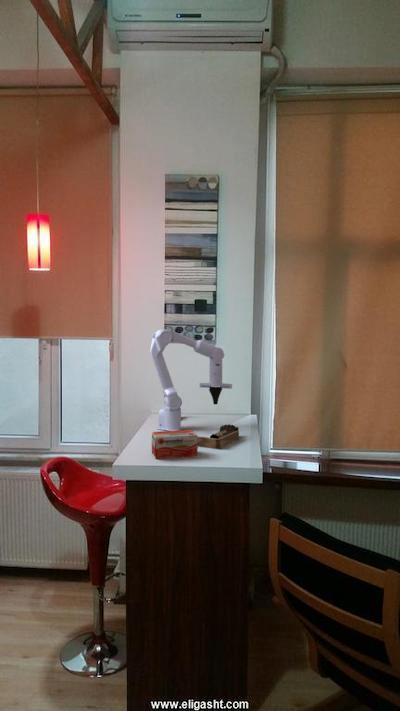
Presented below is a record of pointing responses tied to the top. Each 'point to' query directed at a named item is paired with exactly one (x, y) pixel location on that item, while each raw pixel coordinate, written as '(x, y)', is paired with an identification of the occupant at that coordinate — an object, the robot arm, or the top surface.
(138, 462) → the top surface
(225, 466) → the top surface
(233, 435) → the corner fence
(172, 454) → the medicine box
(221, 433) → the brown rock
